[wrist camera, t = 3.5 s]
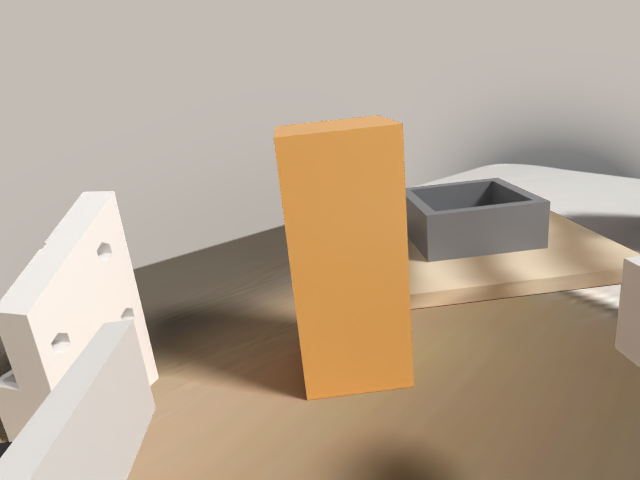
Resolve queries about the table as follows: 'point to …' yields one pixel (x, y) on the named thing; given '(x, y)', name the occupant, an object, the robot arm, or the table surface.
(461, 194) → the socket cup
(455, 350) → the table surface
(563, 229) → the mounting board
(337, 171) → the connector plug
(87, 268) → the white wedge bracket
